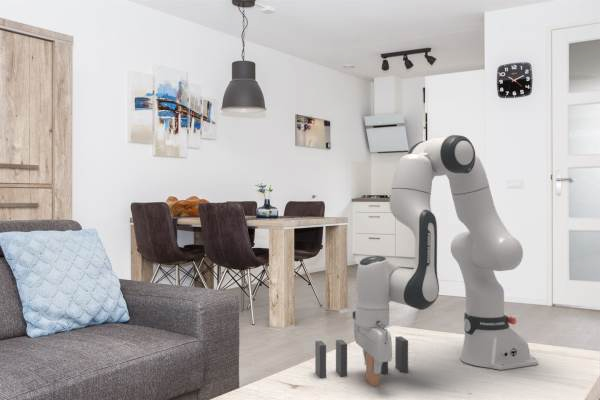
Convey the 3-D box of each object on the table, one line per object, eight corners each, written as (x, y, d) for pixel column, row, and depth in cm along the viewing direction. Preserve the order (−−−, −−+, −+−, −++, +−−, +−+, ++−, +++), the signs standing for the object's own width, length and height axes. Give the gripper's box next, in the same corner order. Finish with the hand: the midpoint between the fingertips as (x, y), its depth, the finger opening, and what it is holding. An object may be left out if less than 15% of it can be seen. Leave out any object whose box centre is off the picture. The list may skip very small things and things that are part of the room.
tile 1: (321, 372, 160) (321, 340, 160) (326, 378, 155) (326, 345, 155) (315, 372, 160) (315, 341, 160) (319, 378, 155) (319, 345, 155)
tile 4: (401, 367, 165) (401, 336, 165) (407, 372, 160) (408, 340, 160) (395, 367, 165) (395, 336, 165) (402, 372, 160) (402, 341, 160)
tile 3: (381, 368, 164) (381, 337, 164) (387, 373, 159) (388, 341, 159) (375, 368, 163) (375, 337, 163) (381, 374, 158) (382, 342, 158)
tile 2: (341, 371, 161) (342, 339, 161) (347, 376, 156) (347, 344, 156) (335, 371, 161) (335, 339, 161) (340, 376, 156) (340, 344, 156)
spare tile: (372, 379, 154) (372, 346, 154) (378, 385, 149) (378, 351, 149) (366, 380, 153) (366, 347, 153) (372, 386, 148) (372, 352, 148)
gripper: (398, 325, 141) (398, 381, 142) (371, 309, 161) (371, 357, 162) (374, 327, 140) (374, 382, 140) (350, 310, 160) (349, 359, 160)
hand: (372, 369), depth 151 cm, fingers closed on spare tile, 5 cm apart
